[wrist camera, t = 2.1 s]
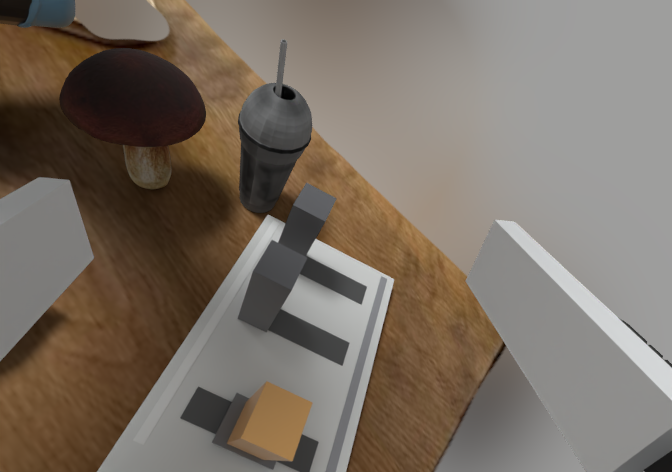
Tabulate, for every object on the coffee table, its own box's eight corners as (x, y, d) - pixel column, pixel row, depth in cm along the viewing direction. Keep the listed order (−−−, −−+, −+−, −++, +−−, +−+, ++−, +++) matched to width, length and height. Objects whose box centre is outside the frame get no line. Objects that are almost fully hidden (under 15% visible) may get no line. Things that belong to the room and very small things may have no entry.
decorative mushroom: (211, 214, 37) (219, 105, 26) (95, 227, 32) (40, 97, 20) (193, 146, 42) (193, 27, 30) (89, 147, 36) (40, 3, 25)
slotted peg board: (100, 475, 23) (36, 488, 14) (265, 223, 39) (287, 151, 30) (312, 565, 24) (387, 633, 15) (386, 286, 41) (444, 235, 31)
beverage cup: (295, 214, 42) (356, 71, 26) (242, 228, 38) (276, 70, 22) (271, 172, 44) (314, 19, 29) (218, 182, 40) (234, 10, 25)
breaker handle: (211, 442, 24) (220, 436, 17) (235, 394, 27) (253, 368, 19) (271, 469, 25) (307, 475, 17) (290, 419, 27) (329, 404, 19)
